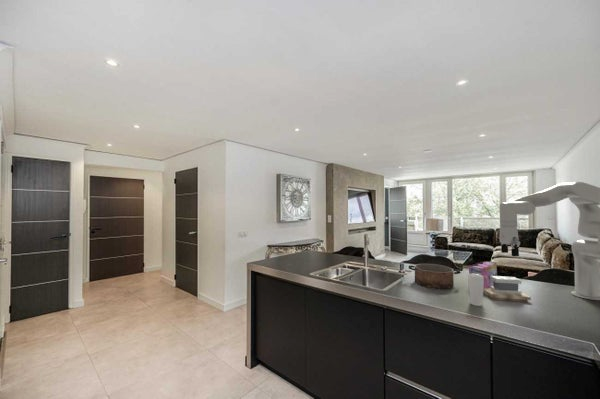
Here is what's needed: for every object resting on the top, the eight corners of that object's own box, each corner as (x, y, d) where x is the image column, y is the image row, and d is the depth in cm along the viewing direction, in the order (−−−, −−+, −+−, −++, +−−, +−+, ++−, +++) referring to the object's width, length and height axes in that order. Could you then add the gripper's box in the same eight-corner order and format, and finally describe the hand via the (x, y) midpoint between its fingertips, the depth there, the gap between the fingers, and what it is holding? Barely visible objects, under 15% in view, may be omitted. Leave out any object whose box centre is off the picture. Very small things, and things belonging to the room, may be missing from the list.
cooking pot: (456, 282, 170) (456, 265, 171) (464, 292, 150) (464, 274, 150) (408, 277, 182) (408, 262, 182) (408, 286, 161) (408, 269, 161)
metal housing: (490, 289, 145) (490, 275, 146) (514, 291, 143) (514, 277, 143) (496, 293, 140) (495, 278, 140) (521, 295, 137) (521, 280, 137)
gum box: (484, 280, 173) (484, 260, 173) (498, 283, 166) (498, 263, 166) (468, 287, 159) (468, 265, 159) (483, 291, 152) (483, 268, 153)
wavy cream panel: (518, 295, 145) (517, 290, 145) (530, 302, 134) (530, 297, 134) (482, 293, 149) (482, 287, 149) (491, 300, 138) (491, 294, 138)
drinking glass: (479, 308, 127) (479, 277, 128) (465, 303, 133) (465, 274, 134) (487, 305, 131) (486, 276, 131) (472, 301, 137) (472, 273, 137)
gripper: (492, 222, 154) (494, 251, 153) (510, 225, 137) (511, 257, 136) (507, 222, 152) (508, 251, 152) (526, 225, 135) (527, 257, 135)
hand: (509, 254), depth 144 cm, fingers open, 9 cm apart
